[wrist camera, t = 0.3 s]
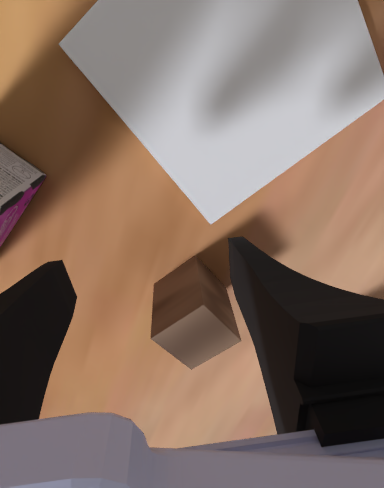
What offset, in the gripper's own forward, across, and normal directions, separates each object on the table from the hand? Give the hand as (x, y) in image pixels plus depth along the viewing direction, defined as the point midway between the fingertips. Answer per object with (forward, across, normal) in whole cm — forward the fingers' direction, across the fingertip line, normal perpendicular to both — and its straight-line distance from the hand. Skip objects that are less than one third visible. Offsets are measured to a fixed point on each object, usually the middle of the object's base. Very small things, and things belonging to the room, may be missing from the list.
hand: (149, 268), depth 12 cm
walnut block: (+9, -2, +9) cm, 13 cm away
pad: (+9, -6, -7) cm, 13 cm away
